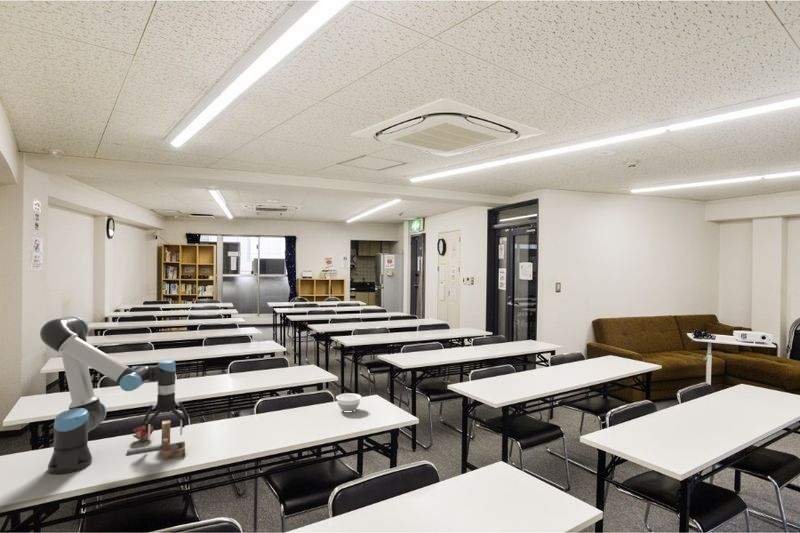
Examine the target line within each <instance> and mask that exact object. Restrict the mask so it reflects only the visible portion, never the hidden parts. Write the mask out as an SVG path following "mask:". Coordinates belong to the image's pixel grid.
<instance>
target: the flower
mask: <svg viewBox="0 0 800 533" xmlns="http://www.w3.org/2000/svg"><path fill="white" fill-rule="evenodd" d="M132 431H133V432H134V434H132V437H133V438H136V439H137V440H139V441H142V443H144V444H145V441H147V440H148V433H146V432H145V426H142V425H141V426H138V427H136V428H134V429H133V430H132ZM153 432H154V426H153V425H152V426H150V437H152V433H153ZM148 441H149V440H148Z"/></svg>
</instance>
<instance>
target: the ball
mask: <svg viewBox="0 0 800 533" xmlns="http://www.w3.org/2000/svg"><path fill="white" fill-rule="evenodd" d="M175 449H179V446H178V445H176V444H173V445H171V446H170V447H169V449H168V451H169V450H175Z"/></svg>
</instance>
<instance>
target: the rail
mask: <svg viewBox="0 0 800 533" xmlns="http://www.w3.org/2000/svg"><path fill="white" fill-rule="evenodd" d="M171 443H172V442H170V444H171ZM126 450H127V451H126V455H133V454H139V453H143V452H144V453H145V452H150V451H157V450H163V446H161V443H159V444H153V445H152V444H151V445H147V446H141V447H134V448H128V449H126Z"/></svg>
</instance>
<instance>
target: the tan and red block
mask: <svg viewBox="0 0 800 533" xmlns="http://www.w3.org/2000/svg"><path fill="white" fill-rule="evenodd" d="M171 422H172V421H171V419H170V420H169V419H168V420H162V421H161V442H160V444H161V446H163V449H162V450H163V451H167V444H170V443H171V425H172V424H171ZM163 451H162V452H163Z"/></svg>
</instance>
